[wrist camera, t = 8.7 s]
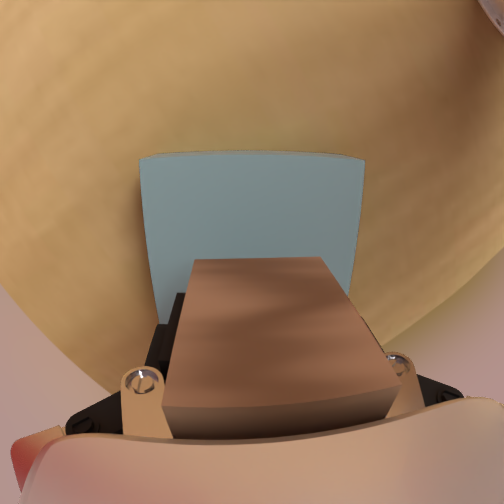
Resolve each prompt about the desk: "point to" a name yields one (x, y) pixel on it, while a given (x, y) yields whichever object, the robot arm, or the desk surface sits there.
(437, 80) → the desk surface
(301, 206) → the plinth
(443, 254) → the desk surface
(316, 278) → the walnut block
